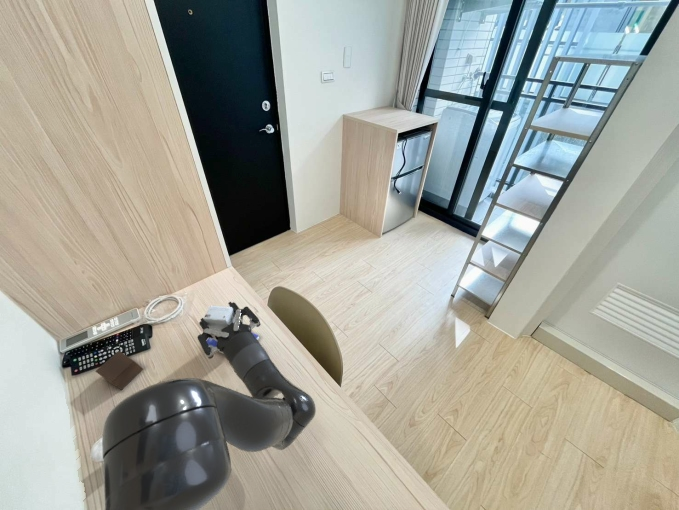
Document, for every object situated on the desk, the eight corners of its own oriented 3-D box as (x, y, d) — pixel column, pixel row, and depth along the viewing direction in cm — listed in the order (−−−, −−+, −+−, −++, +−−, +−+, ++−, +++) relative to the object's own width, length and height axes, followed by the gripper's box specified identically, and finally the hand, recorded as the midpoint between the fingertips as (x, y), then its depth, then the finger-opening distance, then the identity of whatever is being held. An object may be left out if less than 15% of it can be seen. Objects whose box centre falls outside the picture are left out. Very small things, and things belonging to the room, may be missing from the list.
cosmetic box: (244, 331, 77) (233, 305, 69) (238, 345, 74) (226, 320, 66) (224, 329, 78) (210, 303, 69) (217, 343, 74) (202, 318, 66)
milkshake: (146, 447, 59) (121, 436, 53) (121, 473, 56) (91, 465, 49) (134, 434, 61) (108, 422, 54) (109, 460, 58) (78, 450, 51)
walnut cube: (121, 390, 68) (110, 382, 64) (106, 379, 70) (94, 371, 66) (143, 369, 72) (133, 360, 68) (128, 359, 74) (118, 350, 70)
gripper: (272, 329, 62) (238, 288, 71) (212, 371, 55) (182, 319, 64) (277, 345, 67) (245, 305, 76) (223, 385, 60) (194, 336, 69)
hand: (216, 312), depth 70 cm, fingers closed on cosmetic box, 7 cm apart
